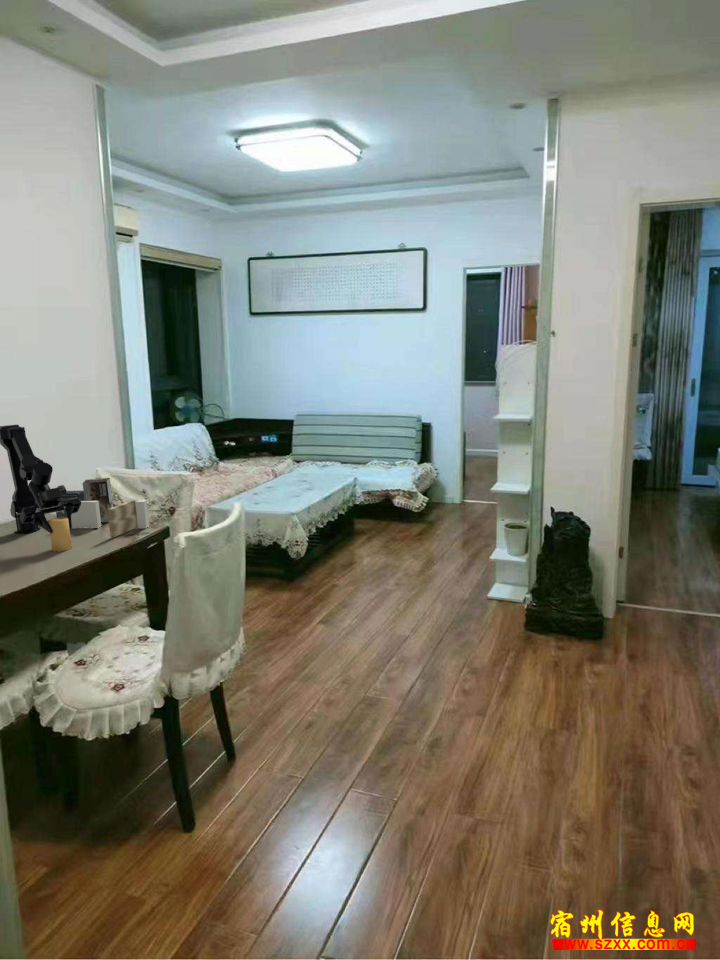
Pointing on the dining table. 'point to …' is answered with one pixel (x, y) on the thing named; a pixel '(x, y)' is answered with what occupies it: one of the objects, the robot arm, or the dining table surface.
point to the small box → (68, 496)
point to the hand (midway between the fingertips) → (61, 530)
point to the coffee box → (99, 495)
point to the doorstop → (60, 534)
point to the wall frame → (91, 515)
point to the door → (122, 518)
